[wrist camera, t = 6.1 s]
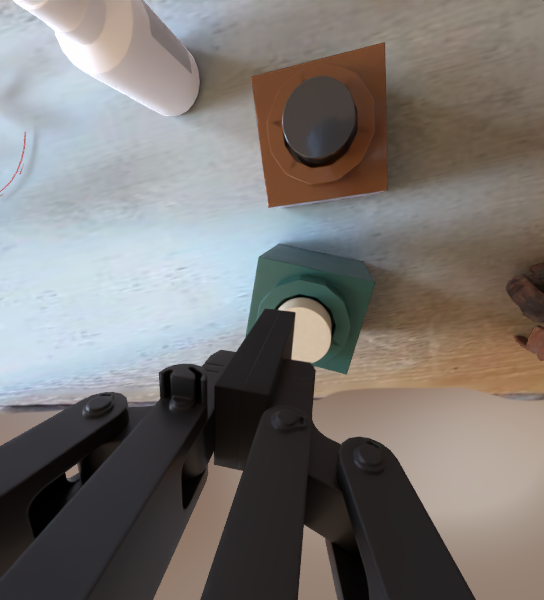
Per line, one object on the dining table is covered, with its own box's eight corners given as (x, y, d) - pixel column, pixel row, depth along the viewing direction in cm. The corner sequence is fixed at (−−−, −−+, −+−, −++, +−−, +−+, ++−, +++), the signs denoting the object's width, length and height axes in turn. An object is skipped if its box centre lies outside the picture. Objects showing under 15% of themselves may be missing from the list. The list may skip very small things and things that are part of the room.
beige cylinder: (337, 304, 23) (338, 315, 21) (323, 356, 25) (322, 371, 22) (279, 291, 24) (274, 300, 21) (270, 342, 25) (263, 356, 23)
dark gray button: (350, 83, 20) (353, 66, 18) (354, 157, 22) (357, 151, 19) (283, 99, 21) (278, 85, 19) (291, 168, 23) (286, 164, 20)
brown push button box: (371, 86, 28) (390, 24, 19) (374, 194, 31) (393, 188, 21) (271, 109, 30) (243, 64, 21) (282, 208, 33) (262, 207, 24)
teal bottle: (363, 261, 33) (379, 288, 22) (343, 331, 36) (347, 387, 25) (278, 243, 34) (252, 260, 23) (266, 312, 37) (237, 357, 26)
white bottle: (202, 43, 29) (28, -177, 13) (200, 119, 32) (50, 18, 15) (141, 42, 31) (-93, -163, 14) (144, 116, 33) (-55, 17, 16)
